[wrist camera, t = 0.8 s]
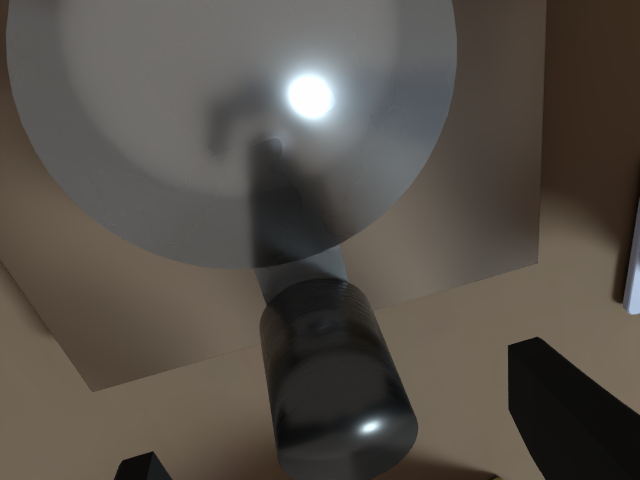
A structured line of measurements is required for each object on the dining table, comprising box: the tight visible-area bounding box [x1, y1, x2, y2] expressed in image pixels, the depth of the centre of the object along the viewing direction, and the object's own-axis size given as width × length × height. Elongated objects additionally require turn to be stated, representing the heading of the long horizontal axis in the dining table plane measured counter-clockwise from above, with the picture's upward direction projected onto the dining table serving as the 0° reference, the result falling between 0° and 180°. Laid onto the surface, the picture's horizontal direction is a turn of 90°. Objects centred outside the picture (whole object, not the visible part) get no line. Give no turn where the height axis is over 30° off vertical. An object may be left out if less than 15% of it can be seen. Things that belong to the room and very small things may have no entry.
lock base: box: [0, 0, 547, 392], centre depth 14 cm, size 16×20×4 cm
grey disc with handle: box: [6, 0, 457, 480], centre depth 11 cm, size 11×8×6 cm
